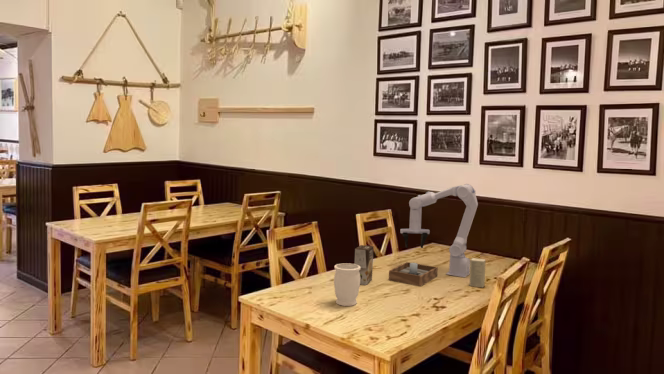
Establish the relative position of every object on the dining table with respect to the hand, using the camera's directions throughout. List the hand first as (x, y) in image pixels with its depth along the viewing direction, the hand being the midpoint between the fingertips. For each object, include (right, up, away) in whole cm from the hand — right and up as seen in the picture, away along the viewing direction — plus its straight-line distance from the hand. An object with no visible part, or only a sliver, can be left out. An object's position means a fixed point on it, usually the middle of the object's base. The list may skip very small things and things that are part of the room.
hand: (414, 247), depth 270 cm
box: (-3, -12, -18) cm, 22 cm away
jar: (-36, -16, -57) cm, 69 cm away
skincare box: (+24, -15, -27) cm, 39 cm away
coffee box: (-27, -13, -27) cm, 40 cm away
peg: (-3, -12, -18) cm, 22 cm away
